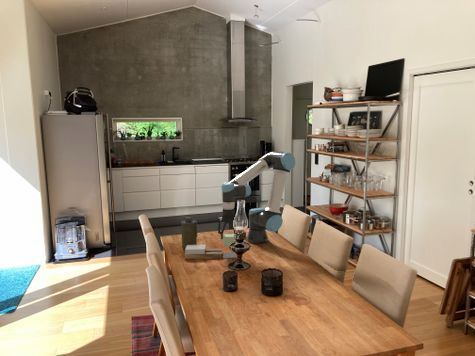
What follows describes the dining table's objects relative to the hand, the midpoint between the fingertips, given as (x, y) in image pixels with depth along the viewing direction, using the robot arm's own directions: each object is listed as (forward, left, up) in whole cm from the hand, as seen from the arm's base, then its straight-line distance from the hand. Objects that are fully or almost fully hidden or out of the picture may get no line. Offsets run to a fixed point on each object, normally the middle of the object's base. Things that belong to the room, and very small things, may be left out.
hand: (228, 244), depth 240 cm
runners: (0, -16, -7) cm, 18 cm away
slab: (0, -21, -4) cm, 21 cm away
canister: (-20, -27, -8) cm, 34 cm away
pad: (0, 0, -7) cm, 7 cm away
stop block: (0, 0, 0) cm, 0 cm away
